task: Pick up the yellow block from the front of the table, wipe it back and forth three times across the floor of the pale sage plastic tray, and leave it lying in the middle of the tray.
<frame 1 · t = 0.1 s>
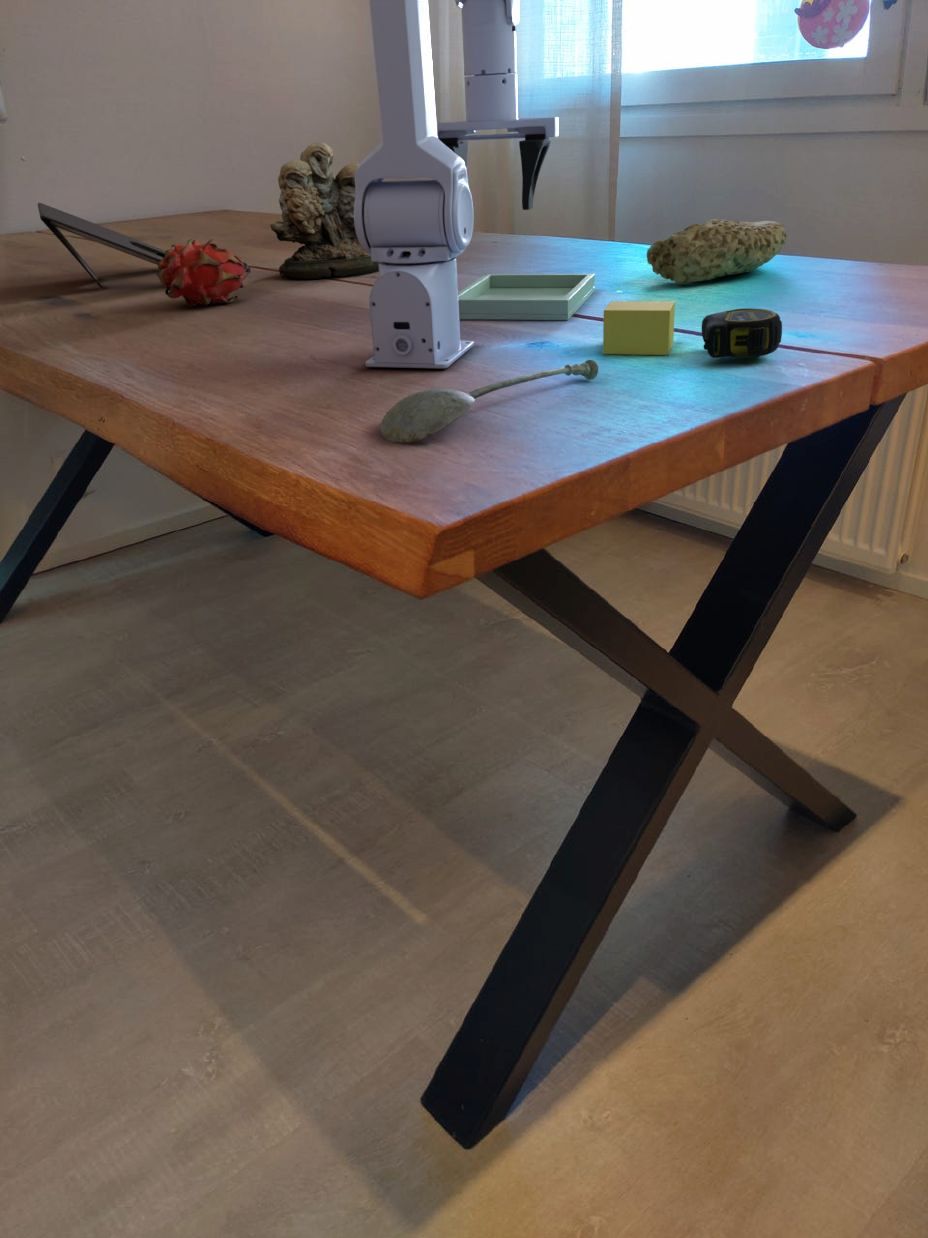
hand: (495, 209, 115), 10 cm above the table, tool pointing down, fingers open, 7 cm apart
owl figurine: (334, 272, 146), on the table
tape measure: (731, 359, 90), on the table
sponge: (721, 276, 128), on the table
soupspoon: (499, 409, 80), on the table
yellow block: (638, 349, 95), on the table
dragon fruit: (210, 305, 128), on the table
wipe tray: (524, 304, 117), on the table
laptop tray: (134, 281, 148), on the table
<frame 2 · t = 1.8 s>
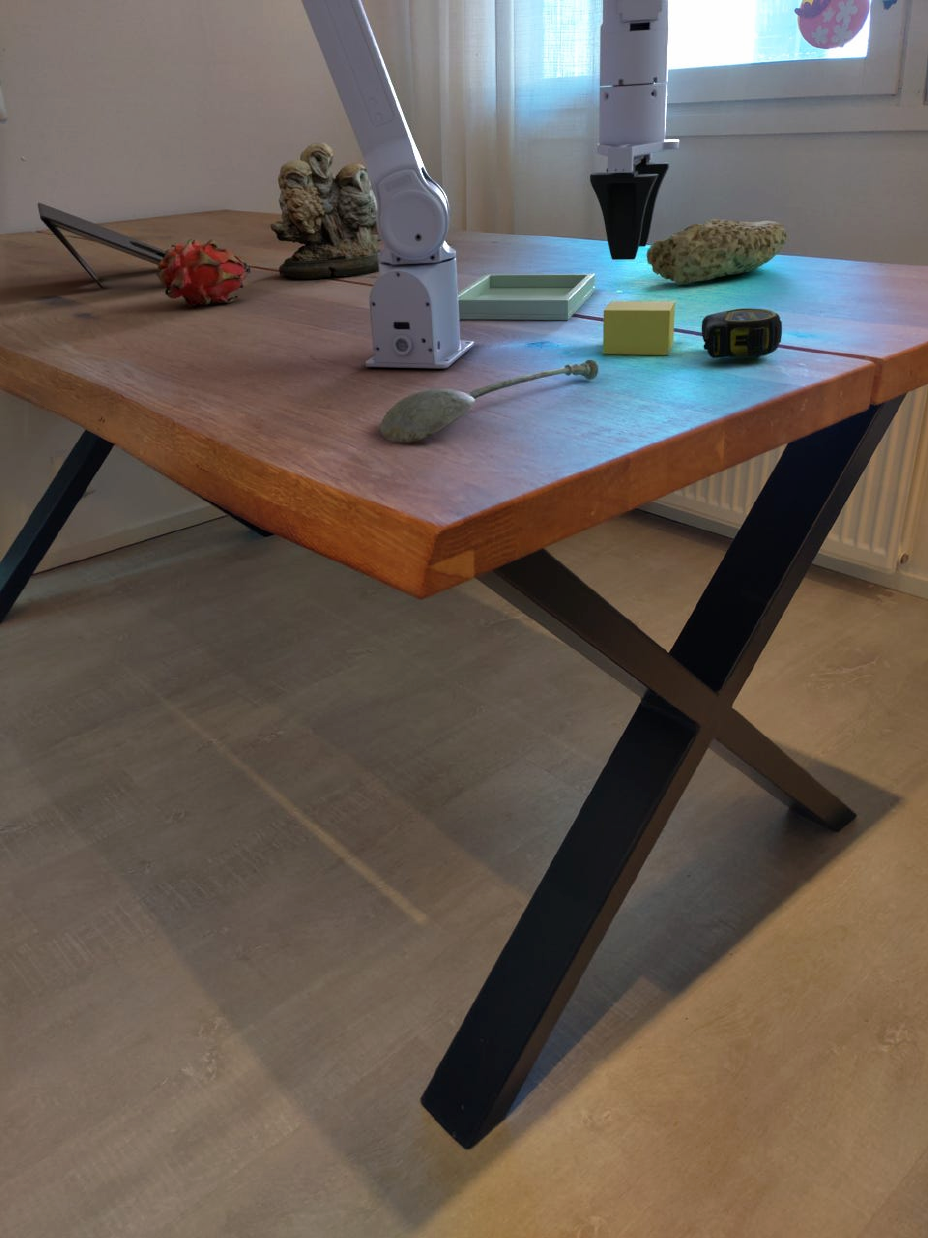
hand: (629, 252, 93), 8 cm above the table, tool pointing down, fingers open, 7 cm apart
nothing on the table moved.
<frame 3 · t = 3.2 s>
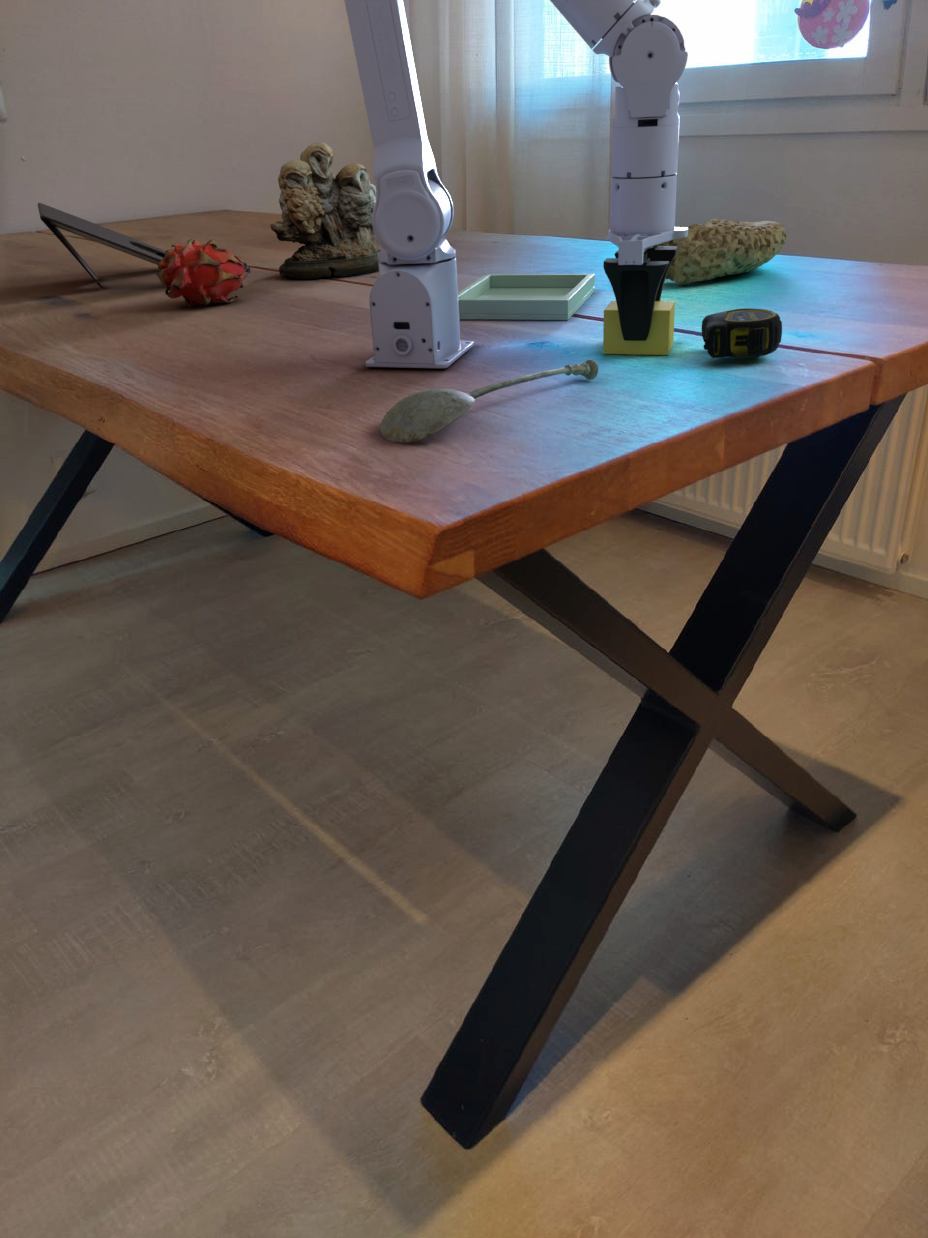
hand: (638, 334, 94), 1 cm above the table, tool pointing down, fingers closed on yellow block, 4 cm apart
yellow block: (638, 349, 95), on the table, touching gripper
everything else where it was.
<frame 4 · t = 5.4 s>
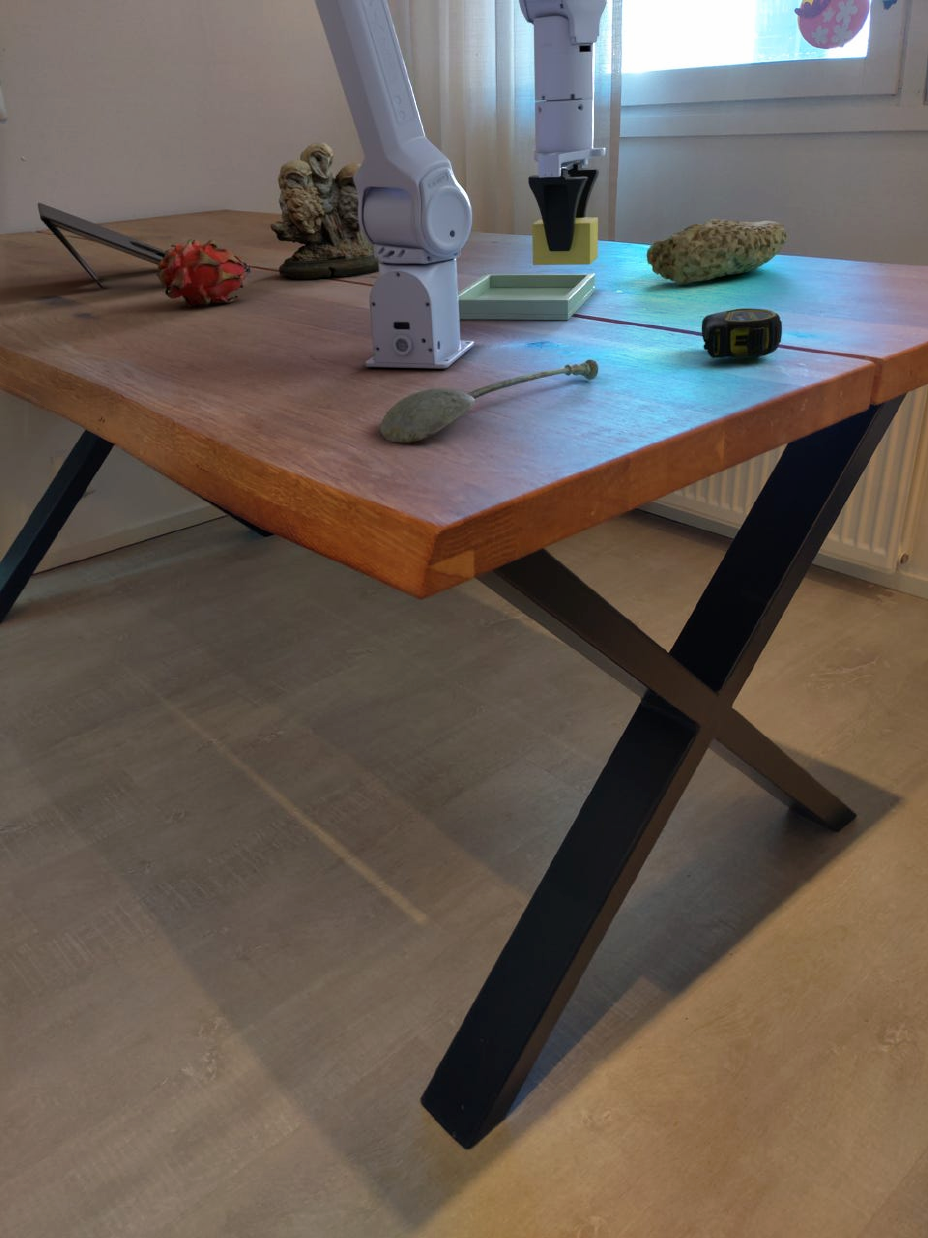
hand: (564, 247, 104), 7 cm above the table, tool pointing down, fingers closed on yellow block, 4 cm apart
yellow block: (565, 261, 105), point 6 cm above the table, touching gripper
everything else where it was.
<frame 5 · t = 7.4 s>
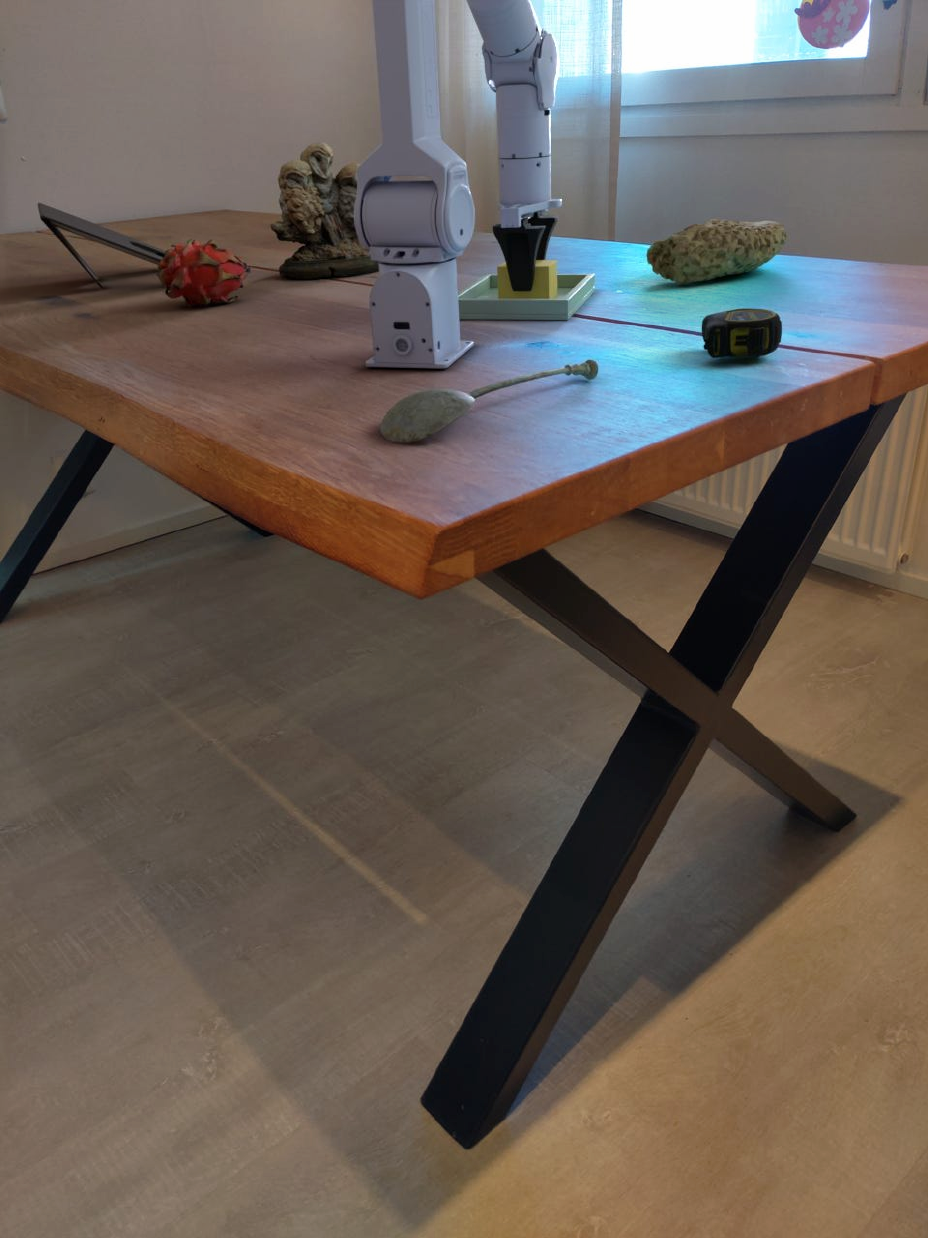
hand: (527, 286, 116), 2 cm above the table, tool pointing down, fingers closed on yellow block, 4 cm apart
yellow block: (528, 299, 116), point 1 cm above the table, touching gripper
everything else where it was.
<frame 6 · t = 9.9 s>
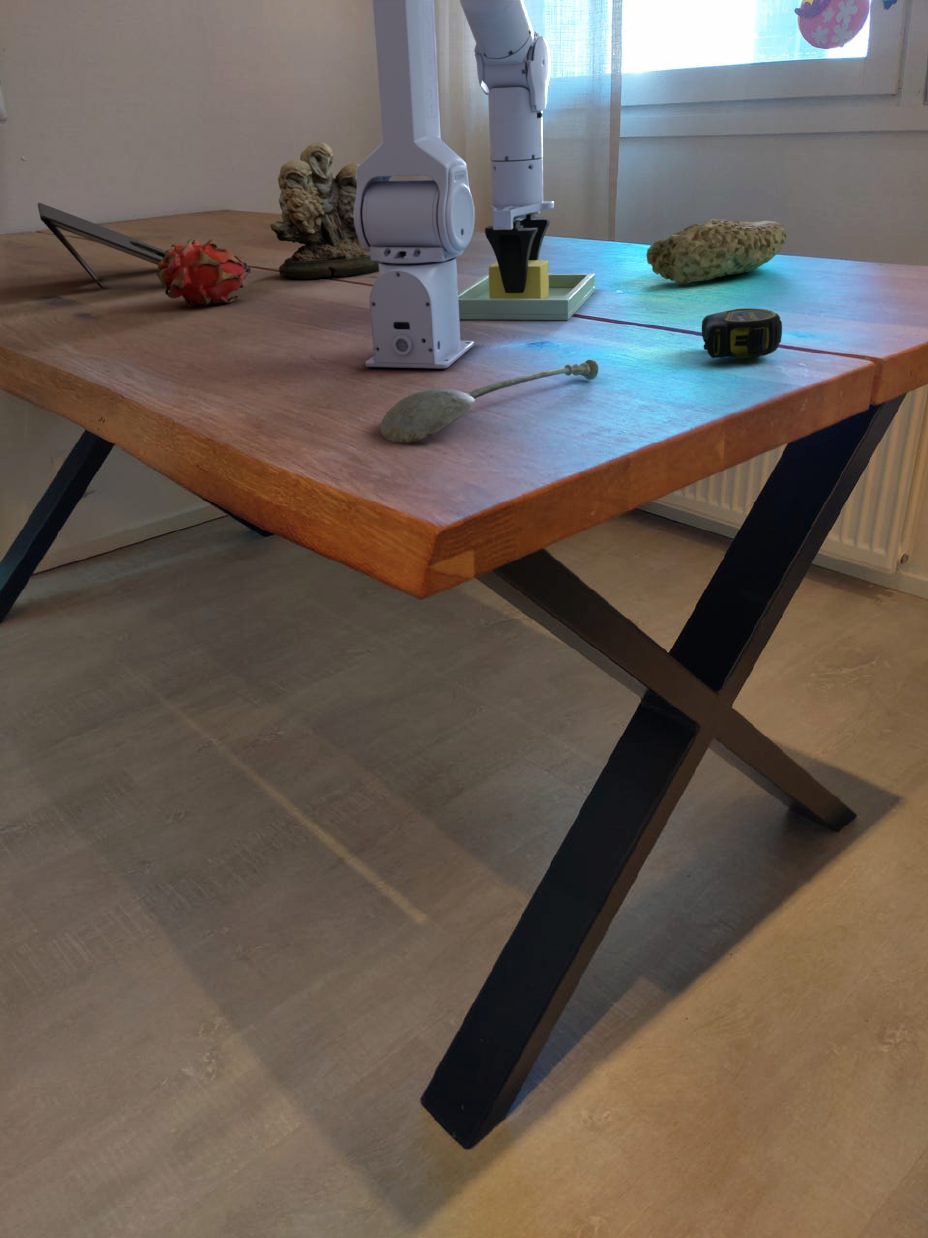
hand: (519, 288, 116), 2 cm above the table, tool pointing down, fingers closed on yellow block, 4 cm apart
yellow block: (519, 299, 117), point 1 cm above the table, touching gripper
everything else where it was.
when the fingers open (2 cm above the table, at t = 11.8 s): yellow block stays where it is, resting on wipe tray.
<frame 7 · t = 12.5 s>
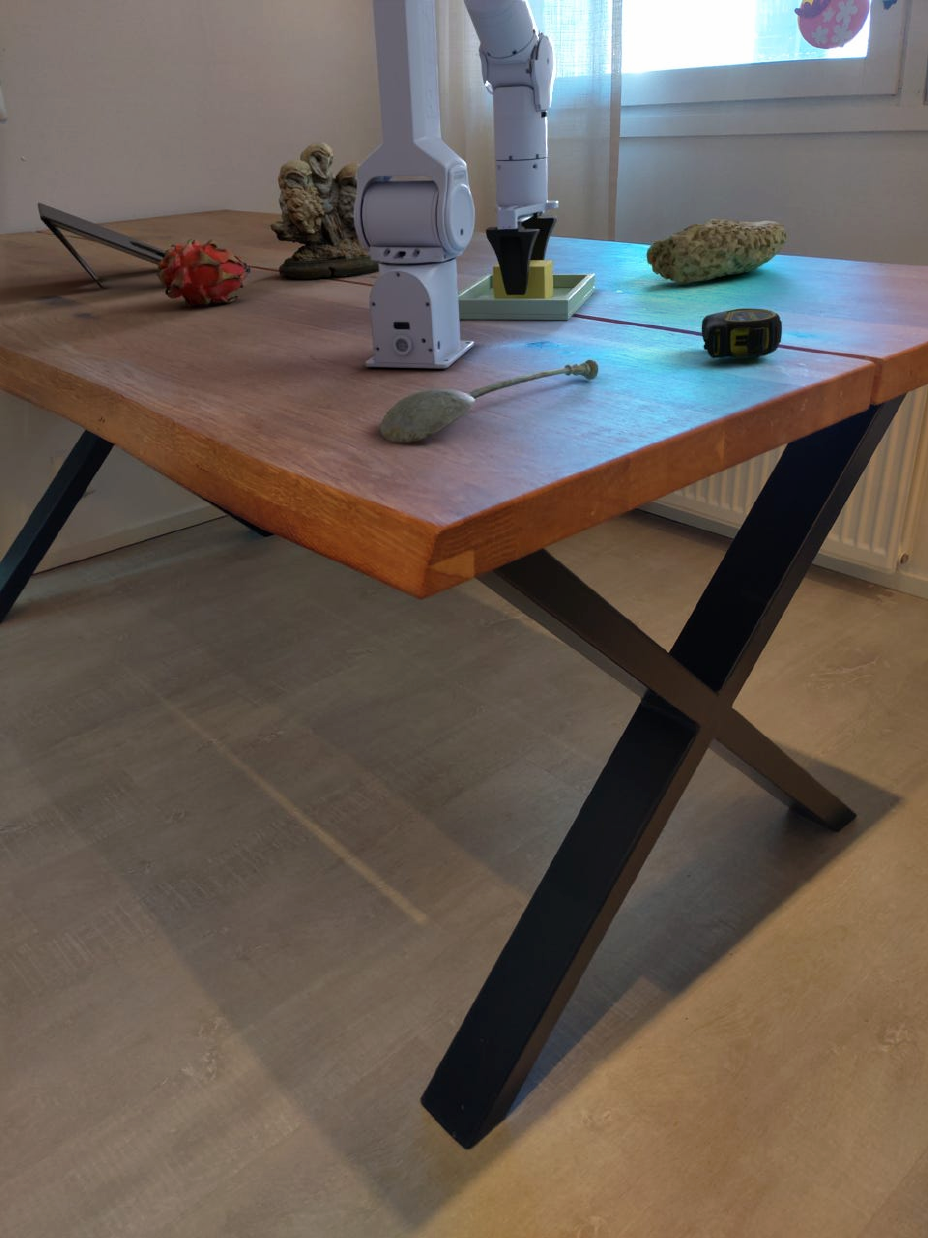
hand: (523, 288, 116), 2 cm above the table, tool pointing down, fingers open, 7 cm apart
yellow block: (523, 299, 116), point 1 cm above the table, touching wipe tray
everything else where it was.
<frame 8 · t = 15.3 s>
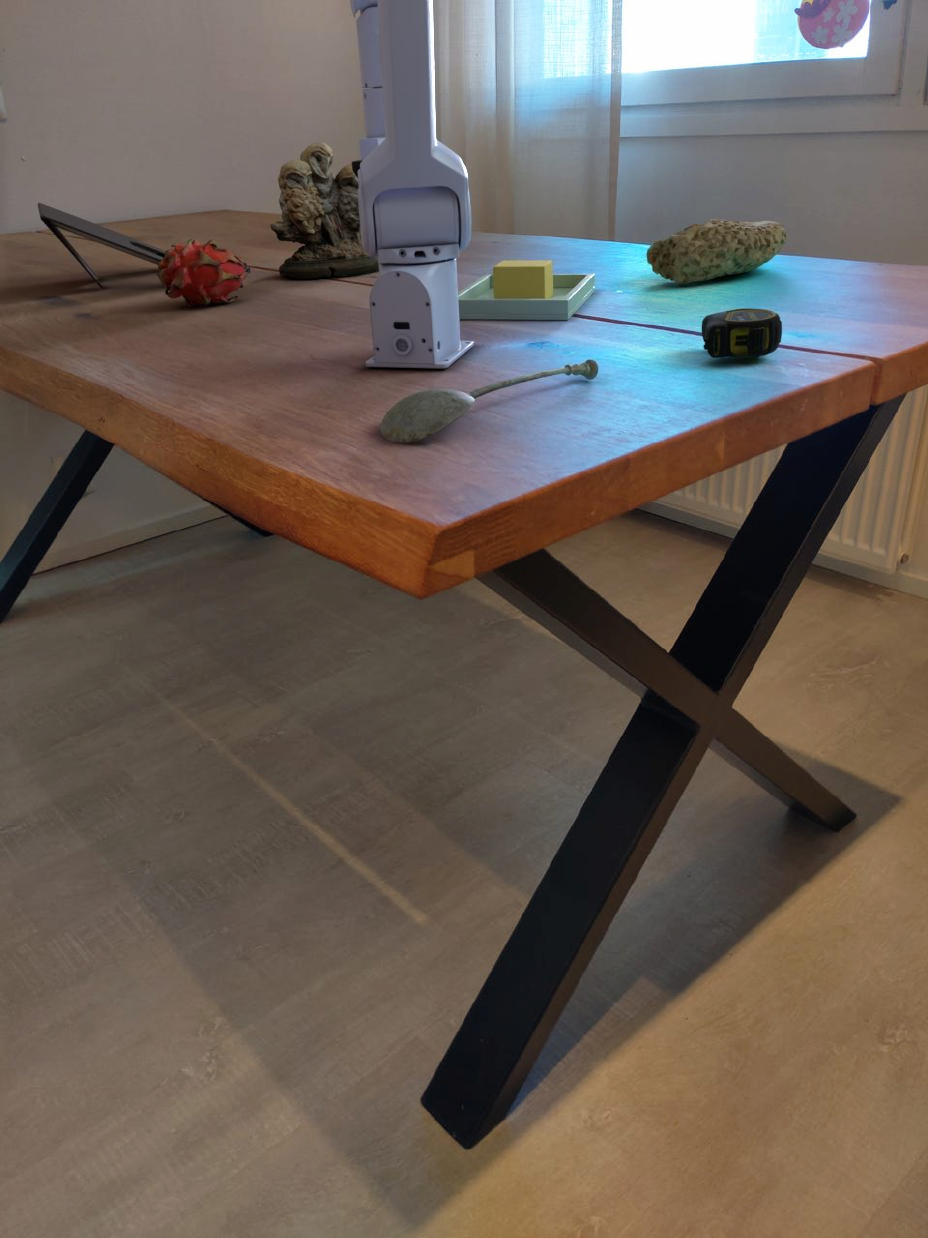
hand: (400, 228, 110), 9 cm above the table, tool pointing down, fingers open, 7 cm apart
nothing on the table moved.
at the end: yellow block inside the target area in the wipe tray (0.0 cm from its centre), point 0.6 cm above the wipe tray's base; yellow block moved 26.5 cm from its start; the gripper is holding nothing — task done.
